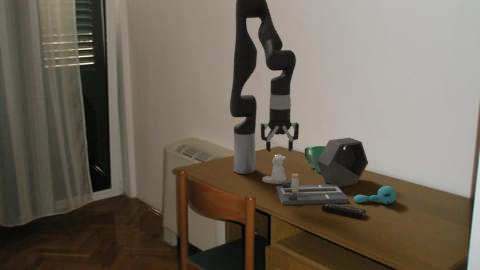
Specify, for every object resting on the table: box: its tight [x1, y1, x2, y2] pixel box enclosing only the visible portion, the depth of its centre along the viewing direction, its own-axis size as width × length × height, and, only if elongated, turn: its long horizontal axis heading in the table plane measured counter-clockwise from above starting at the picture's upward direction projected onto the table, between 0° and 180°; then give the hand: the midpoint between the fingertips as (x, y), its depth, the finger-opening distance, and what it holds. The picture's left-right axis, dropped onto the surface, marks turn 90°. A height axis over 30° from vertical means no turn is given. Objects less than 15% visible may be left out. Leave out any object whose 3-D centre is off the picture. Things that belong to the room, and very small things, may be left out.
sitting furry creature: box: [262, 153, 287, 186], centre depth 203 cm, size 10×9×12 cm
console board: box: [275, 180, 349, 206], centre depth 188 cm, size 16×24×4 cm, turn 95°
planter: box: [317, 137, 369, 188], centre depth 201 cm, size 17×8×21 cm
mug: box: [304, 145, 326, 174], centre depth 219 cm, size 15×10×10 cm
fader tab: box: [291, 172, 300, 192], centre depth 187 cm, size 3×2×6 cm
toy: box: [353, 185, 397, 205], centre depth 181 cm, size 12×6×15 cm
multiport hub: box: [321, 202, 367, 220], centre depth 172 cm, size 4×14×2 cm, turn 57°
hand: (279, 151), depth 183 cm, fingers open, 7 cm apart
